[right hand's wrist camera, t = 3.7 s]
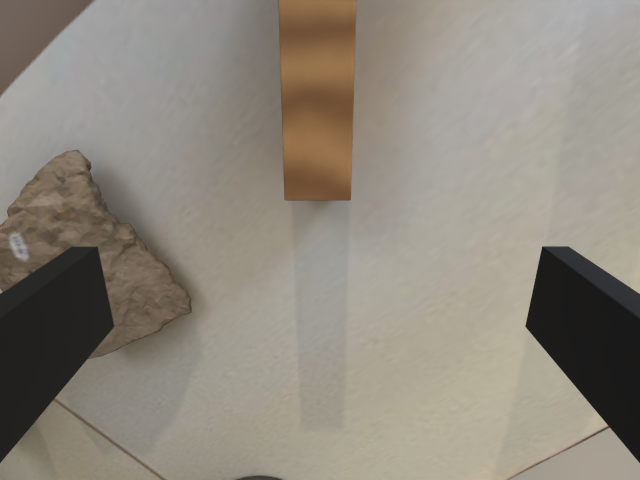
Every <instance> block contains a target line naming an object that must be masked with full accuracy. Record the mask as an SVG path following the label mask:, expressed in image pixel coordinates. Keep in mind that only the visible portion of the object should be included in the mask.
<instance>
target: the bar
mask: <svg viewBox="0 0 640 480" xmlns="http://www.w3.org/2000/svg"><path fill="white" fill-rule="evenodd" d="M278 2H279V34H280V66H281V98H282V130H283V162H284V193H285V200H351V172H352V136H353V99H354V63H355V26H356V0H278Z"/></svg>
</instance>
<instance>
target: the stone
mask: <svg viewBox="0 0 640 480" xmlns="http://www.w3.org/2000/svg"><path fill="white" fill-rule="evenodd" d="M90 169H91V163H90V162H89V161H88V160H87V159H86V158H85V157H84V156H83V155H82V154H81V153H80V151H79V150H74V151H67V152H65V153H63V154H62V155H59V156H57V157H55V158H54V159H52V160H51V161H50V162H49V163H48V164H46V165H45V166H44V167H43V168H42V169H41V170H40V171H38V173H37V174H36V175H35V177H34V179H32V180H31V181H29V182H27V184H26V186H25V187H24V188H23V189H22V191H21V193H20V196H19V197H18V198H17V199H16V200H15V202H14V203H13V204H12V205H11V206H9V207H8V211H7V212H8V216H9V218H8V219H7V220H6V221H5V222H4V223H3V224H2V225H0V288H1V290H2V291H3V292H4V291H6V290H7V289H9V288H10V287H12V286H13V285H15V284H16V283H18V282H19V281H21V280H22V279H24V278H25V277H27V276H28V275H30V274H31V273H33V272H34V271H36V270H37V269H39V268H40V267H42V266H43V265H45V264H46V263H48V262H49V261H51V260H52V259H54V258H55V257H57V256H58V255H60V254H61V253H63V252H64V251H66V250H67V249H69V248H70V247H98V250H99V255H100V260H101V265H102V269H103V274H104V279H105V284H106V288H107V293H108V298H109V303H110V307H111V312H112V317H113V322H114V326H115V327H114V328H113V329H112V330H111V331H110V333H109V334H108V335H107V336H106V337H105V339H104V340H103V341H102V342H101V343H100V345H99V346H98V347H97V348H96V349H95V350H94V352H93V353H92V354H91V355H90V356H89V358H88V359H91V358H94V357H99V356H103V355H105V354H108V353H110V352H113V351H115V350H118V349H119V348H121V347H122V346H124V345H127V344H129V343H131V342H133V341H135V340H138V339H141V338H144V337H146V336H148V335H151V334H153V333H156V332H158V331H161V329H162V327H163V326H164V325H165V324H167V323H169V322H171V321H172V320H174V319H175V318H177V317H178V316H180V315H182V314H189V313H191V312H192V310H191V298H190V296H189V295H188V293H187V291H186V290H185V289H184V288H183V287H182V286H180V285H179V284H178V283H177V282H176V281H174V280H173V277H172V275H171V273H170V271H169V268H168V266H166V265H165V264H164V263H163V262H161V261H160V260H158V258H157V257H155V256H153V255H152V254H151V253H150V252H149V251H148V250H147V248H146V246H145V243H144V242H143V241H142V240H141V239H139V237H138V236H137V235H136V233H135V231H134V228H133V227H132V226H131V225H130V224H119V222H118V220H117V218H116V217H115V216H114V215H112V214H110V213H109V212H108V210H107V207H106V203H105V202H104V200H103V199H101V192H100V190H99V188H98V186H97V185H96V184H95V183H94V182H93V181H92V177H91V173H90Z"/></svg>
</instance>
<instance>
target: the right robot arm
mask: <svg viewBox="0 0 640 480" xmlns="http://www.w3.org/2000/svg"><path fill="white" fill-rule="evenodd" d="M114 327H115V326H114V322H113V317H112V312H111V307H110V303H109V298H108V293H107V288H106V284H105V279H104V274H103V269H102V265H101V260H100V255H99V250H98V247H70V248H69V249H67V250H66V251H64V252H63V253H61V254H60V255H58V256H57V257H55V258H54V259H52V260H51V261H49V262H48V263H46V264H45V265H43V266H42V267H40V268H39V269H37V270H36V271H34V272H33V273H31V274H30V275H28V276H27V277H25V278H24V279H22V280H21V281H19V282H18V283H16V284H15V285H13V286H12V287H10V288H9V289H7V290H6V291H4V292H3V293H1V294H0V463H1V461H2V460H3V459H4V458H5V457H6V455H7V454H8V453H9V452H10V451H11V449H12V448H13V447H14V446H15V445H16V444H17V442H18V441H19V440H20V439H21V438H22V436H23V435H24V434H25V433H26V432H27V430H28V429H29V428H30V427H31V426H32V424H33V423H34V422H35V421H36V420H37V418H38V417H39V416H40V415H41V414H42V413H43V411H44V410H45V409H46V408H47V407H48V405H49V404H50V403H51V402H52V401H53V399H54V398H55V397H56V396H57V395H58V393H59V392H60V391H61V390H62V389H63V387H64V386H65V385H66V384H67V383H68V381H69V380H70V379H71V378H72V377H73V376H74V374H75V373H76V372H77V371H78V370H79V368H80V367H81V366H82V365H83V364H84V362H85V361H86V360H87V359H88V358H89V356H90V355H91V354H92V353H93V352H94V350H95V349H96V348H97V347H98V346H99V345H100V343H101V342H102V341H103V340H104V339H105V337H106V336H107V335H108V334H109V333H110V331H111V330H112V329H113V328H114ZM525 327H526V328H527V329H528V330H529V331H530V333H531V334H532V335H533V336H534V337H535V339H536V340H537V341H538V342H539V343H540V345H541V346H542V347H543V348H544V349H545V350H546V352H547V353H548V354H549V355H550V356H551V358H552V359H553V360H554V361H555V362H556V364H557V365H558V366H559V367H560V368H561V370H562V371H563V372H564V373H565V374H566V376H567V377H568V378H569V379H570V380H571V381H572V383H573V384H574V385H575V386H576V387H577V389H578V390H579V391H580V392H581V393H582V395H583V396H584V397H585V398H586V399H587V401H588V402H589V403H590V404H591V405H592V407H593V408H594V409H595V410H596V411H597V413H598V414H599V415H600V416H601V417H602V418H603V420H604V421H605V422H606V423H607V424H608V426H609V427H610V428H611V429H612V430H613V431H614V433H615V434H616V435H617V436H618V438H619V439H620V440H621V441H622V442H623V443H624V445H625V446H626V447H627V448H628V449H629V451H630V452H631V453H632V454H633V455H634V457H635V458H636V459H637V460H638V461H639V463H640V294H639V293H637V292H636V291H634V290H633V289H631V288H630V287H628V286H627V285H625V284H624V283H622V282H621V281H619V280H618V279H616V278H615V277H613V276H612V275H610V274H609V273H607V272H606V271H604V270H603V269H601V268H600V267H598V266H597V265H595V264H594V263H592V262H591V261H589V260H588V259H586V258H585V257H583V256H582V255H580V254H579V253H577V252H576V251H574V250H573V249H571V248H570V247H542V250H541V255H540V260H539V265H538V269H537V274H536V279H535V284H534V288H533V293H532V298H531V303H530V307H529V312H528V317H527V322H526V326H525ZM238 480H280V479H276V478H272V477H264V476H253V477H245V478H241V479H238Z"/></svg>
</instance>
